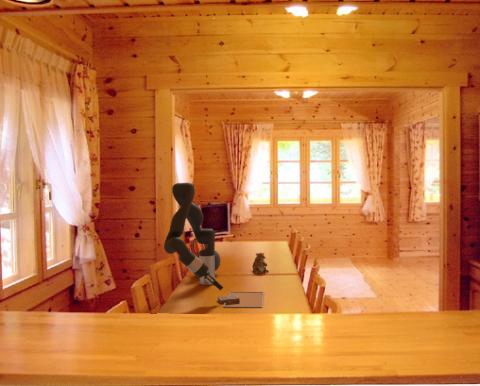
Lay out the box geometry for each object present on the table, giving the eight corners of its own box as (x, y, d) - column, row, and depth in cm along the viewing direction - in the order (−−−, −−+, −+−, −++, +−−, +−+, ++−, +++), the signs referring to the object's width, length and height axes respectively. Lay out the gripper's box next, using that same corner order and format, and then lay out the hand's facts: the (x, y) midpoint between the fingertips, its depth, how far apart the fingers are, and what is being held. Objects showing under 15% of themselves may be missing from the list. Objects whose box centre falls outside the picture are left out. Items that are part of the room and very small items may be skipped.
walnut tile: (220, 300, 213) (239, 298, 216) (217, 297, 219) (236, 295, 222) (220, 304, 213) (239, 302, 216) (217, 301, 219) (236, 299, 222)
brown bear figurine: (256, 274, 279) (256, 254, 279) (248, 270, 292) (247, 251, 292) (270, 272, 283) (269, 253, 283) (261, 269, 296) (261, 250, 296)
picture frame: (262, 308, 205) (264, 293, 233) (262, 306, 205) (264, 291, 233) (223, 308, 207) (229, 293, 235) (223, 306, 207) (229, 291, 235)
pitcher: (218, 276, 274) (217, 230, 273) (190, 276, 277) (189, 230, 277) (222, 273, 285) (221, 228, 284) (194, 272, 288) (193, 228, 287)
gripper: (205, 263, 207) (229, 286, 211) (199, 258, 220) (223, 280, 223) (194, 275, 206) (219, 297, 209) (189, 269, 218) (213, 291, 222)
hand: (221, 288), depth 216 cm, fingers closed
